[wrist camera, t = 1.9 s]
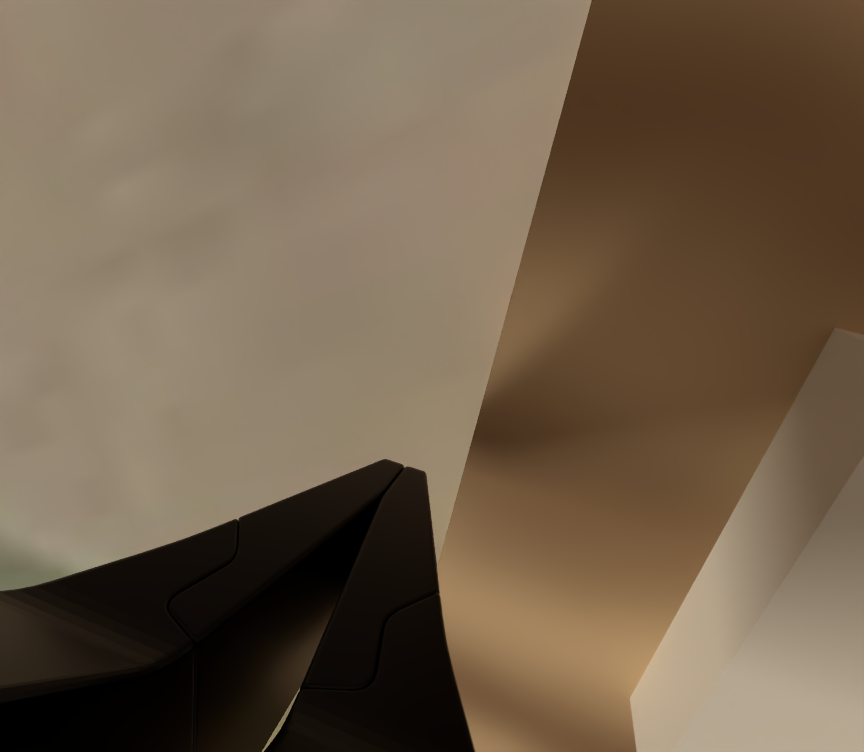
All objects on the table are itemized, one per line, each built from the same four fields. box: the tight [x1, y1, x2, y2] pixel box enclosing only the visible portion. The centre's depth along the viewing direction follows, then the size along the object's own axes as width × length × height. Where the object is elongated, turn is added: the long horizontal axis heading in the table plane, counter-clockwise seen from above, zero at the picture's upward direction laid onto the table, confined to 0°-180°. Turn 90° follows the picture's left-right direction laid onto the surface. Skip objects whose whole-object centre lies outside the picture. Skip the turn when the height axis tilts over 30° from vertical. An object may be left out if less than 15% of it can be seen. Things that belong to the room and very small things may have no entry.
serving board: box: [437, 0, 864, 752], centre depth 11 cm, size 22×14×4 cm, turn 168°
